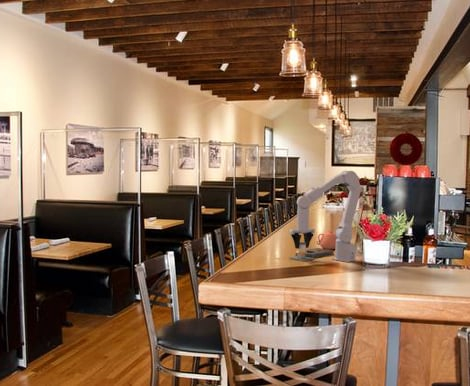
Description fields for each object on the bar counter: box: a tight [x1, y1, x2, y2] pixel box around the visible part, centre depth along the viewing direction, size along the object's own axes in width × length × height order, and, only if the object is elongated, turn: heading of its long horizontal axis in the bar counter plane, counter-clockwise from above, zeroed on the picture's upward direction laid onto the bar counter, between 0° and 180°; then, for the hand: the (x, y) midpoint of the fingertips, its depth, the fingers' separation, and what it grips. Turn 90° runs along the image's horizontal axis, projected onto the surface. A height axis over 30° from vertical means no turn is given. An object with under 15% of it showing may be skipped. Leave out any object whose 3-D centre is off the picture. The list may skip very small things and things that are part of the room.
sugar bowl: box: [316, 230, 337, 250], centre depth 278 cm, size 12×14×10 cm
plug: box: [295, 241, 307, 259], centre depth 243 cm, size 6×6×8 cm
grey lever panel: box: [295, 247, 335, 259], centre depth 256 cm, size 10×20×2 cm, turn 136°
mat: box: [288, 255, 315, 262], centre depth 243 cm, size 9×8×1 cm
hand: (301, 248), depth 242 cm, fingers open, 5 cm apart
